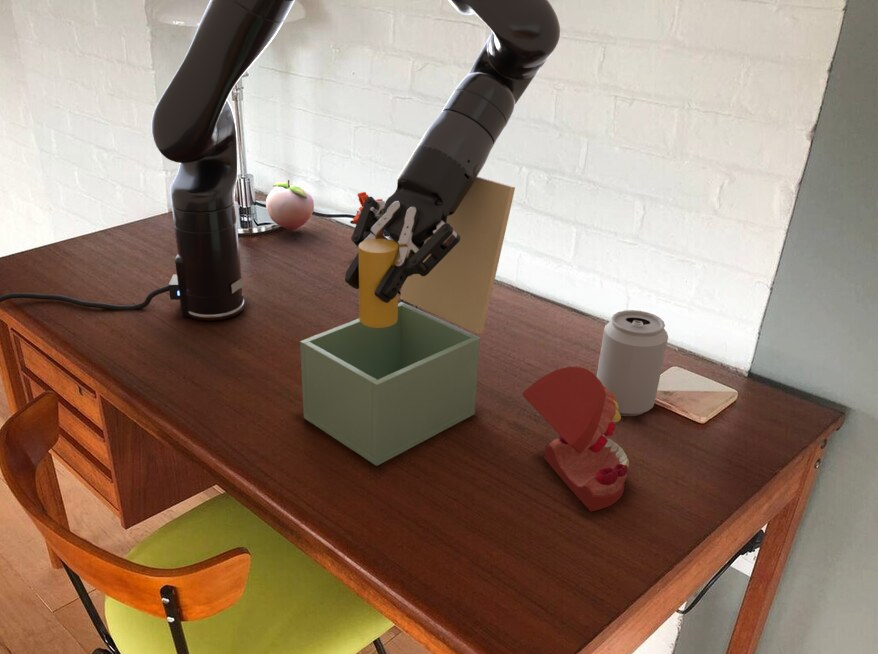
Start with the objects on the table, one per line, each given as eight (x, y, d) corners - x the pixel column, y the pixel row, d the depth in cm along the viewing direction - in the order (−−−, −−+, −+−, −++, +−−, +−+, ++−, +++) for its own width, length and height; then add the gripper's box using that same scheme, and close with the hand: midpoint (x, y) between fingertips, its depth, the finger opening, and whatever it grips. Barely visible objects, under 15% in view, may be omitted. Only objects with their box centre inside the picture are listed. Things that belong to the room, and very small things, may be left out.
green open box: (376, 466, 95) (377, 384, 89) (303, 418, 103) (299, 341, 98) (474, 414, 104) (480, 337, 99) (400, 374, 113) (401, 301, 107)
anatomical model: (659, 491, 89) (632, 388, 81) (597, 528, 89) (564, 429, 80) (603, 440, 98) (573, 343, 90) (546, 474, 97) (511, 379, 89)
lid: (511, 187, 92) (515, 187, 92) (424, 161, 100) (428, 162, 101) (478, 334, 98) (483, 333, 99) (399, 298, 107) (403, 298, 108)
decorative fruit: (257, 232, 161) (254, 181, 155) (284, 220, 166) (281, 171, 161) (295, 242, 156) (293, 190, 151) (322, 229, 162) (320, 179, 157)
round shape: (359, 328, 94) (358, 253, 89) (359, 311, 97) (358, 238, 93) (398, 327, 94) (399, 252, 89) (396, 311, 98) (397, 238, 93)
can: (654, 394, 108) (671, 311, 102) (651, 424, 102) (669, 337, 96) (595, 385, 110) (609, 302, 104) (589, 413, 104) (603, 328, 98)
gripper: (385, 132, 95) (306, 258, 94) (479, 156, 86) (392, 296, 85) (417, 169, 101) (342, 288, 100) (508, 196, 91) (427, 327, 91)
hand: (366, 291), depth 92 cm, fingers closed on round shape, 4 cm apart
